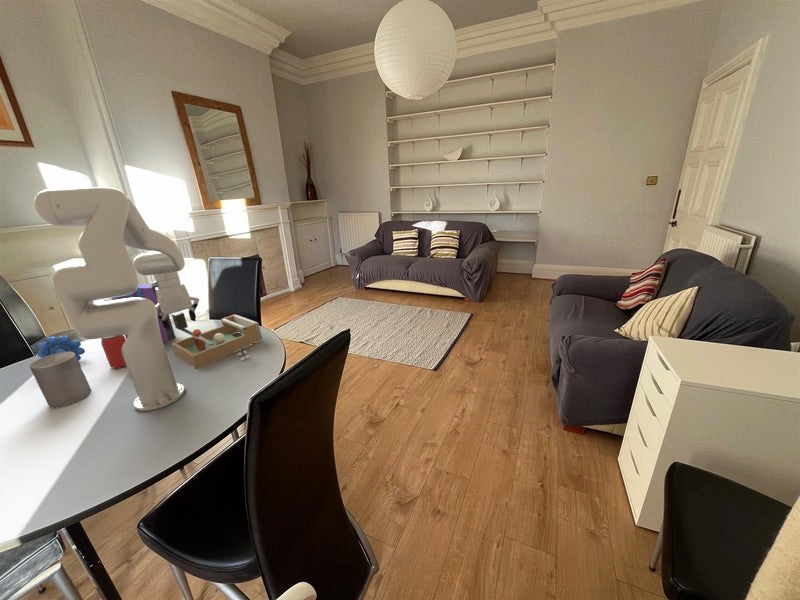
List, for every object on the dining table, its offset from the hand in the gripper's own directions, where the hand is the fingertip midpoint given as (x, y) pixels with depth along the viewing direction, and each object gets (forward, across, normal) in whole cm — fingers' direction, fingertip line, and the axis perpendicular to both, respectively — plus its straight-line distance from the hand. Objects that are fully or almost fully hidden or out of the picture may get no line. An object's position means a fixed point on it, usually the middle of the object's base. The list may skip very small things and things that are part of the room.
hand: (180, 324), depth 128 cm
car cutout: (+10, +6, -34) cm, 36 cm away
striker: (+7, 0, -12) cm, 14 cm away
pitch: (+9, +7, -14) cm, 18 cm away
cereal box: (+10, -6, +20) cm, 23 cm away
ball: (+5, +7, -14) cm, 17 cm away
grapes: (+10, -32, +23) cm, 41 cm away
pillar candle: (+10, -36, -7) cm, 38 cm away
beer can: (+10, -20, +5) cm, 23 cm away
